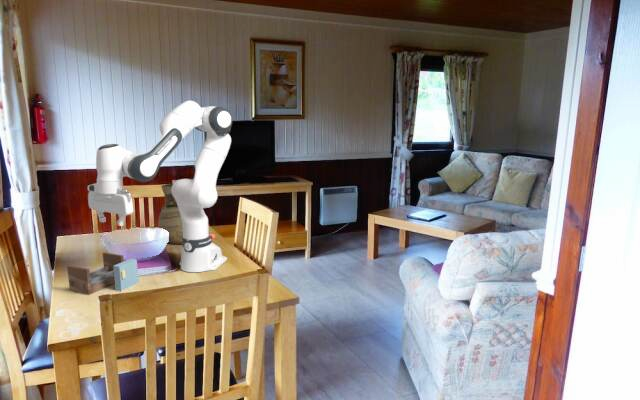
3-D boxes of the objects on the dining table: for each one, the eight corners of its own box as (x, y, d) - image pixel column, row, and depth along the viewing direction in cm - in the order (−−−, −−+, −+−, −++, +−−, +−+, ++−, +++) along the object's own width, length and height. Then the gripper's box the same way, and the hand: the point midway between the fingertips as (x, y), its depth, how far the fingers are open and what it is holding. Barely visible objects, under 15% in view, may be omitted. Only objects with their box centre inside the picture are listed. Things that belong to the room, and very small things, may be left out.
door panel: (132, 281, 187) (130, 258, 185) (139, 283, 185) (137, 259, 183) (115, 290, 178) (113, 265, 176) (122, 291, 177) (120, 267, 175)
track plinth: (106, 274, 194) (104, 252, 192) (125, 278, 190) (123, 255, 188) (69, 290, 177) (67, 266, 175) (89, 294, 174) (86, 269, 172)
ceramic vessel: (207, 238, 246) (205, 183, 240) (177, 248, 228) (174, 189, 222) (182, 233, 256) (179, 180, 249) (151, 242, 238) (147, 186, 231)
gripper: (136, 189, 170) (137, 226, 173) (98, 184, 179) (100, 218, 181) (123, 191, 165) (124, 229, 167) (84, 185, 173) (85, 221, 176)
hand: (111, 223), depth 174 cm, fingers open, 8 cm apart
